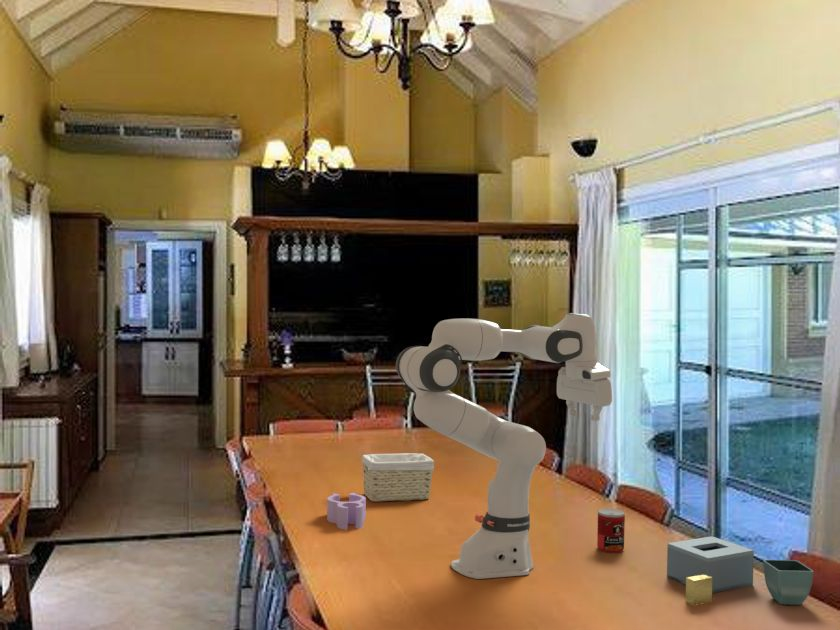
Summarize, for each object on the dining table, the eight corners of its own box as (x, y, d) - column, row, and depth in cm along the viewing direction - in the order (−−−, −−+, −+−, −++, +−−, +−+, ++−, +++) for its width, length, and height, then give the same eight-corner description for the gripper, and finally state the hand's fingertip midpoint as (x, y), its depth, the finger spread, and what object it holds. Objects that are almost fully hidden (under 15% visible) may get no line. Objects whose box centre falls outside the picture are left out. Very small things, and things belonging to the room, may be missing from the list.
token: (693, 605, 202) (693, 580, 202) (685, 602, 204) (686, 577, 204) (711, 601, 205) (712, 577, 205) (703, 598, 207) (704, 574, 207)
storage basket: (422, 490, 319) (422, 451, 318) (435, 500, 303) (435, 459, 303) (359, 493, 312) (360, 453, 312) (369, 504, 296) (370, 462, 296)
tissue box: (707, 594, 210) (708, 558, 210) (666, 577, 223) (667, 543, 222) (752, 585, 217) (753, 550, 217) (711, 569, 230) (711, 536, 230)
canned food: (605, 554, 242) (606, 515, 242) (592, 546, 250) (593, 509, 250) (629, 552, 244) (630, 514, 244) (615, 544, 252) (616, 507, 252)
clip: (371, 528, 265) (372, 506, 265) (332, 530, 262) (332, 508, 262) (361, 512, 285) (362, 492, 284) (324, 514, 282) (325, 493, 282)
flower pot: (796, 595, 210) (797, 559, 210) (813, 608, 202) (814, 571, 201) (761, 595, 210) (762, 559, 210) (777, 608, 201) (778, 570, 201)
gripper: (550, 367, 247) (552, 414, 248) (596, 375, 229) (599, 425, 230) (567, 364, 250) (569, 411, 251) (614, 371, 232) (617, 421, 233)
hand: (584, 418), depth 240 cm, fingers open, 8 cm apart
